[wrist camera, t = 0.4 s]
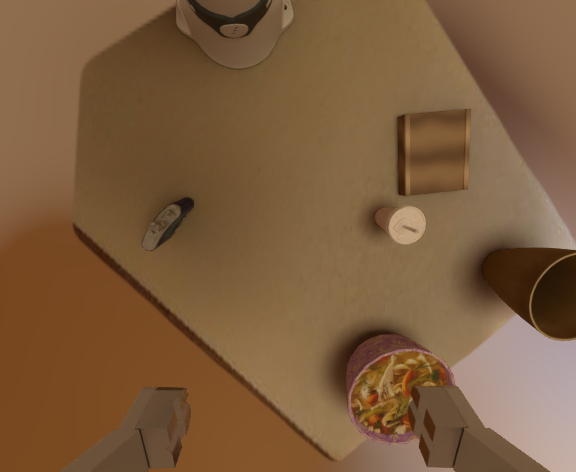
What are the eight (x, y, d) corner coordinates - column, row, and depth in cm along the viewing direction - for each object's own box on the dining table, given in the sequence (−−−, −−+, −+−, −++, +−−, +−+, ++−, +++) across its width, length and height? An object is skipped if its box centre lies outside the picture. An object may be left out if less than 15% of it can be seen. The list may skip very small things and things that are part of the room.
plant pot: (537, 230, 61) (631, 251, 45) (525, 298, 64) (608, 339, 49) (468, 231, 60) (541, 252, 44) (459, 300, 63) (523, 343, 47)
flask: (168, 241, 56) (146, 257, 45) (154, 232, 55) (129, 246, 45) (197, 202, 55) (182, 210, 44) (184, 192, 54) (165, 197, 44)
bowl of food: (420, 309, 63) (455, 339, 52) (425, 389, 67) (457, 433, 56) (327, 325, 62) (341, 359, 51) (338, 406, 66) (353, 454, 55)
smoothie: (366, 202, 57) (399, 213, 43) (399, 198, 57) (441, 206, 44) (369, 235, 58) (401, 254, 45) (401, 230, 59) (442, 248, 45)
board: (398, 117, 54) (404, 114, 51) (461, 111, 55) (471, 108, 52) (398, 194, 57) (405, 195, 54) (459, 188, 58) (468, 189, 55)
